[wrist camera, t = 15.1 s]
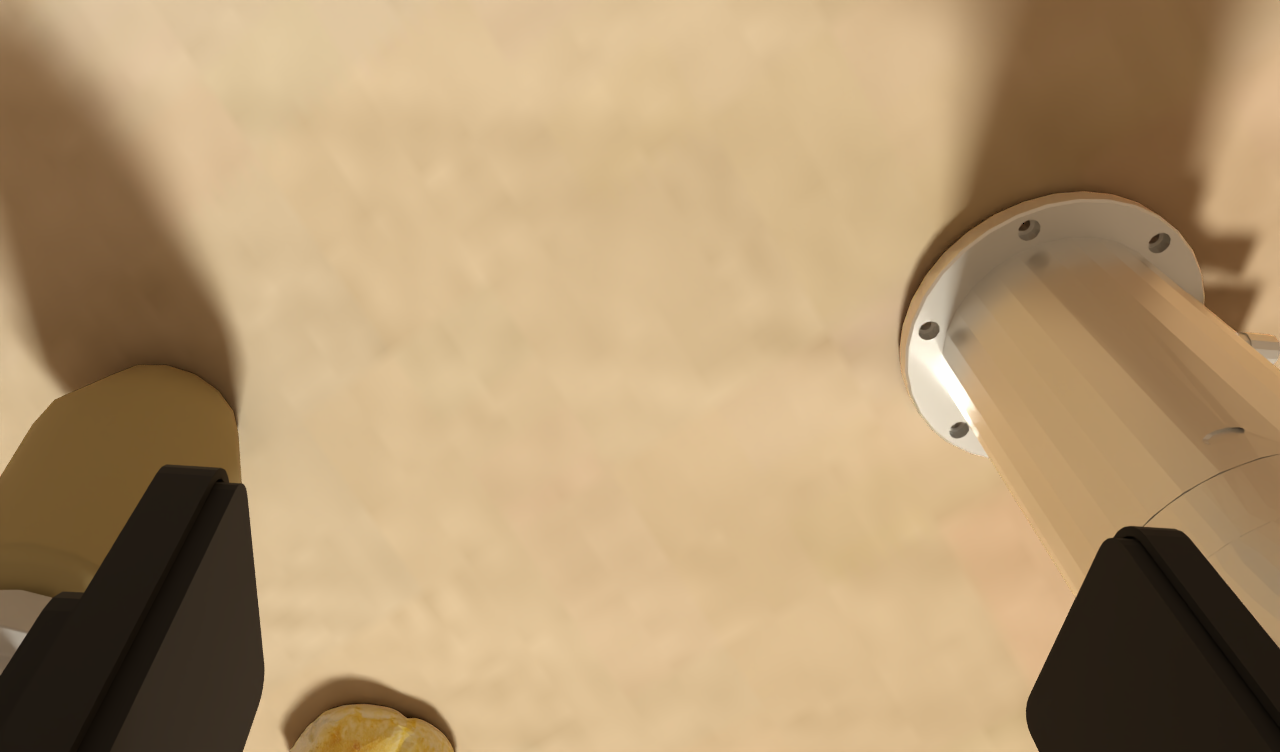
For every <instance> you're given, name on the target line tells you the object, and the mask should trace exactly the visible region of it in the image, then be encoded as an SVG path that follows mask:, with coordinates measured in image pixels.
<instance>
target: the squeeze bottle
mask: <svg viewBox="0 0 1280 752" xmlns="http://www.w3.org/2000/svg"><path fill="white" fill-rule="evenodd" d="M166 464H170V465H185V466H201V467H217V468H223V469H225V470H226V472H227V475H228V478H229V483H242V482H241V467H240V452H239V437H238V430H237V425H236V421H235V416H234V412H233V410H232V409H231V407H230V406H229V405H228V403H227V402H226V400H225V399H224V398H223V396H222V395H221V394H220V392H219V391H218V390H217V389H215V388H214V387H213V386H211V385H210V384H208V383H207V382H205V381H204V380H203V379H201V378H200V377H198V376H197V375H195V374H193V373H190V372H187V371H184V370H181V369H177V368H174V367H171V366H168V365H136V366H133V367H131V368H128V369H125V370H123V371H120V372H118V373H115V374H113V375H110V376H108V377H106V378H103V379H101V380H99V381H97V382H94V383H92V384H90V385H87V386H85V387H83V388H81V389H78V390H76V391H74V392H71V393H69V394H67V395H64V396H62V397H60V398H58V399H55V400H54V401H53V402H52V403H51V404H50V406H49V407H48V408H47V409H46V410H45V411H44V412H43V413H42V414H41V416H40V417H39V418H38V419H37V420H36V421H35V422H34V423H33V425H32V426H31V428H30V429H29V431H28V433H27V434H26V436H25V438H24V439H23V441H22V442H21V444H20V446H19V447H18V449H17V451H16V452H15V454H14V455H13V457H12V459H11V460H10V462H9V464H8V465H7V467H6V468H5V470H4V472H3V473H2V475H1V477H0V675H1V674H2V672H3V670H4V669H5V667H6V666H7V664H8V663H9V661H10V660H11V658H12V657H13V655H14V653H15V652H16V650H17V649H18V647H19V646H20V644H21V643H22V641H23V639H24V638H25V636H26V635H27V633H28V632H29V630H30V629H31V627H32V625H33V624H34V622H35V621H36V619H37V618H38V616H39V615H40V613H41V611H42V610H43V609H44V608H45V606H46V605H47V604H48V603H49V601H50V600H51V599H52V598H53V597H54V596H56V595H58V594H59V593H61V592H63V591H64V592H85V590H86V588H87V587H88V585H89V584H90V582H91V580H92V579H93V577H94V575H95V574H96V572H97V570H98V569H99V567H100V565H101V564H102V562H103V560H104V559H105V557H106V556H107V554H108V552H109V551H110V549H111V547H112V546H113V544H114V542H115V541H116V539H117V537H118V536H119V534H120V532H121V531H122V529H123V527H124V526H125V524H126V523H127V521H128V519H129V518H130V516H131V514H132V513H133V511H134V509H135V508H136V506H137V504H138V503H139V501H140V499H141V498H142V496H143V495H144V493H145V491H146V490H147V488H148V486H149V485H150V483H151V481H152V480H153V478H154V476H155V475H156V473H157V472H158V471H159V469H160V468H161V467H162V466H164V465H166Z"/></svg>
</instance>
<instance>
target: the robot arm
mask: <svg viewBox="0 0 1280 752" xmlns="http://www.w3.org/2000/svg"><path fill="white" fill-rule="evenodd" d="M1024 222H1025V223H1024ZM1022 223H1024V225H1022V226H1021V224H1022ZM1204 300H1205V294H1204V286H1203V278H1202V272H1201V269H1200V267H1199V264H1198V262H1197V259H1196V257H1195V254H1194V251H1193V250H1192V248H1191V247H1190V246H1189V244H1188V243H1187V242H1186V240H1185V239H1184V238H1183V236H1182V235H1181V234H1180V232H1179V231H1178V230H1177V229H1175V228H1174V227H1173V226H1172V225H1170V224H1169V223H1168V222H1167V221H1166V220H1164V219H1163V218H1162V217H1161V216H1159V215H1158V214H1156V213H1155V212H1153V211H1151V210H1150V209H1148V208H1146V207H1145V206H1143V205H1141V204H1140V203H1138V202H1135V201H1132V200H1129V199H1126V198H1123V197H1120V196H1117V195H1114V194H1107V193H1097V192H1087V191H1080V192H1068V193H1056V194H1051V195H1047V196H1043V197H1039V198H1036V199H1032V200H1028V201H1024V202H1022V203H1019V204H1017V205H1015V206H1013V207H1010V208H1008V209H1006V210H1004V211H1001V212H999V213H997V214H995V215H993V216H991V217H990V218H988V219H987V220H985V221H984V222H982V223H981V224H979V225H977V226H976V227H974V228H973V229H971V230H970V231H968V232H967V233H966V234H965V235H964V236H962V237H961V238H960V239H959V240H958V241H957V242H956V243H954V244H953V245H952V246H951V247H950V248H949V249H948V250H947V251H945V252H944V254H943V255H942V256H941V257H940V258H939V260H938V261H937V262H936V263H935V265H934V266H933V267H932V268H931V269H930V271H929V272H928V273H927V274H926V276H925V277H924V279H923V281H922V283H921V284H920V286H919V288H918V290H917V291H916V293H915V295H914V297H913V298H912V300H911V303H910V306H909V309H908V311H907V314H906V317H905V320H904V323H903V327H902V334H901V341H900V349H899V352H900V364H901V374H902V377H903V380H904V383H905V386H906V389H907V392H908V395H909V397H910V398H911V400H912V402H913V404H914V405H915V407H916V409H917V411H918V413H919V415H920V416H921V417H922V418H923V419H924V421H925V422H926V423H927V424H928V426H929V427H930V428H931V429H932V431H934V432H935V433H936V434H937V435H938V436H940V437H941V438H942V439H943V440H945V441H946V442H947V443H949V444H951V445H953V446H955V447H957V448H959V449H961V450H963V451H966V452H968V453H970V454H973V455H977V456H981V457H985V458H989V459H990V460H991V462H992V463H993V465H994V467H995V468H996V470H997V471H998V473H999V475H1000V476H1001V478H1002V480H1003V481H1004V483H1005V484H1006V486H1007V488H1008V489H1009V491H1010V493H1011V494H1012V496H1013V497H1014V499H1015V501H1016V502H1017V504H1018V506H1019V507H1020V509H1021V510H1022V512H1023V514H1024V515H1025V517H1026V519H1027V520H1028V522H1029V523H1030V525H1031V527H1032V528H1033V530H1034V532H1035V533H1036V535H1037V536H1038V538H1039V540H1040V541H1041V543H1042V545H1043V546H1044V548H1045V549H1046V551H1047V553H1048V554H1049V556H1050V558H1051V559H1052V561H1053V562H1054V564H1055V566H1056V567H1057V569H1058V571H1059V572H1060V574H1061V575H1062V577H1063V579H1064V580H1065V582H1066V584H1067V585H1068V587H1069V588H1070V590H1071V592H1072V593H1073V595H1074V597H1075V600H1074V603H1073V605H1072V607H1071V609H1070V611H1069V613H1068V615H1067V617H1066V619H1065V622H1064V624H1063V626H1062V628H1061V630H1060V632H1059V634H1058V636H1057V638H1056V641H1055V643H1054V645H1053V647H1052V649H1051V651H1050V653H1049V655H1048V658H1047V660H1046V662H1045V664H1044V666H1043V668H1042V670H1041V672H1040V674H1039V677H1038V679H1037V681H1036V683H1035V685H1034V687H1033V689H1032V691H1031V694H1030V696H1029V698H1028V701H1027V707H1026V719H1027V724H1028V728H1029V731H1030V734H1031V736H1032V738H1033V740H1034V742H1035V744H1036V746H1037V748H1038V751H1039V752H1280V370H1279V369H1278V368H1277V367H1276V366H1275V365H1273V364H1274V363H1275V362H1276V361H1277V360H1278V357H1279V353H1280V345H1279V341H1278V340H1277V338H1276V337H1275V336H1273V335H1270V334H1260V333H1249V332H1239V333H1237V332H1236V331H1235V330H1233V329H1232V328H1231V327H1230V326H1229V325H1227V324H1226V323H1225V322H1224V321H1223V320H1221V319H1220V318H1219V317H1218V316H1217V315H1215V314H1214V313H1213V312H1212V311H1210V310H1209V309H1208V308H1207V307H1206V306H1204ZM926 322H927V323H926ZM924 323H925V324H924ZM923 324H924V325H923ZM263 682H264V658H263V648H262V638H261V628H260V618H259V608H258V598H257V588H256V578H255V568H254V558H253V548H252V538H251V528H250V518H249V508H248V498H247V491H246V488H245V485H244V484H242V483H229V478H228V475H227V472H226V470H225V469H223V468H217V467H201V466H185V465H170V464H166V465H164V466H162V467H161V468H160V469H159V471H158V472H157V473H156V475H155V476H154V478H153V480H152V481H151V483H150V485H149V486H148V488H147V490H146V491H145V493H144V495H143V496H142V498H141V499H140V501H139V503H138V504H137V506H136V508H135V509H134V511H133V513H132V514H131V516H130V518H129V519H128V521H127V523H126V524H125V526H124V527H123V529H122V531H121V532H120V534H119V536H118V537H117V539H116V541H115V542H114V544H113V546H112V547H111V549H110V551H109V552H108V554H107V556H106V557H105V559H104V560H103V562H102V564H101V565H100V567H99V569H98V570H97V572H96V574H95V575H94V577H93V579H92V580H91V582H90V584H89V585H88V587H87V588H86V590H85V592H64V591H63V592H61V593H59V594H58V595H56V596H54V597H53V598H52V599H51V600H50V601H49V603H48V604H47V605H46V606H45V608H44V609H43V610H42V611H41V613H40V615H39V616H38V618H37V619H36V621H35V622H34V624H33V625H32V627H31V629H30V630H29V632H28V633H27V635H26V636H25V638H24V639H23V641H22V643H21V644H20V646H19V647H18V649H17V650H16V652H15V653H14V655H13V657H12V658H11V660H10V661H9V663H8V664H7V666H6V667H5V669H4V670H3V672H2V674H1V675H0V752H243V749H244V746H245V743H246V740H247V738H248V735H249V732H250V729H251V726H252V723H253V720H254V717H255V714H256V711H257V708H258V705H259V702H260V699H261V694H262V689H263Z"/></svg>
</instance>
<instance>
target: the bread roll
mask: <svg viewBox="0 0 1280 752" xmlns="http://www.w3.org/2000/svg"><path fill="white" fill-rule="evenodd" d="M290 752H454V750H453V748H452V746H451V744H450V742H449V741H448V739H447V738H446V736H445V735H444V734H443V733H442V732H441V731H440V730H438V729H437V728H436V727H434V726H433V725H431V724H429V723H428V722H426V721H423V720H421V719H418V718H406V717H405V716H403V715H402V714H401V713H400V712H398V711H397V710H395V709H392V708H389V707H384V706H378V705H371V704H352V705H343V706H340V707H337V708H333V709H330V710H327V711H325V712H324V713H322V714H321V715H320V716H319V717H318V718H317V719H316V720H315V721H314V722H312V723H311V724H310V725H309V726H308V727H307V728H306V729H305V731H304V732H303V733H302V734H301V736H300V737H299V739H298V740H297V741H296V743H295V745H294V746H293V747H292V749H291V750H290Z"/></svg>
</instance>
